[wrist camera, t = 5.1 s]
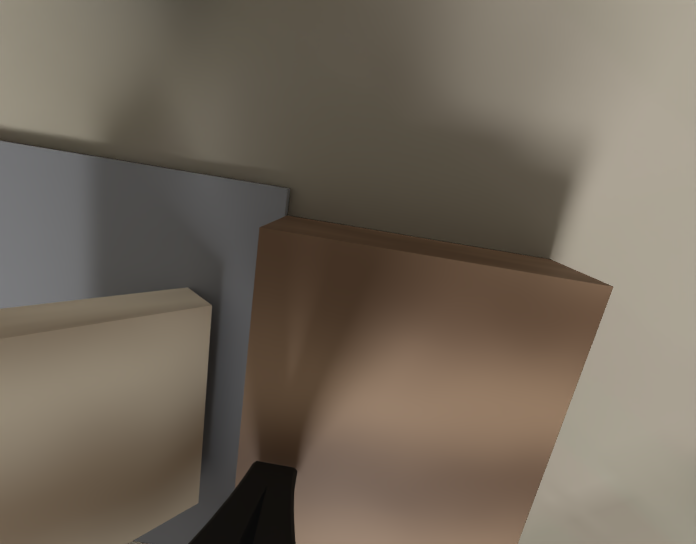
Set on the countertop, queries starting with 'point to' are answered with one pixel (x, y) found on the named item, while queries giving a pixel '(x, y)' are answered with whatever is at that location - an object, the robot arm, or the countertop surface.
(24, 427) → the birch tile
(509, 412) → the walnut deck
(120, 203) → the slate mat
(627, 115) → the countertop surface
